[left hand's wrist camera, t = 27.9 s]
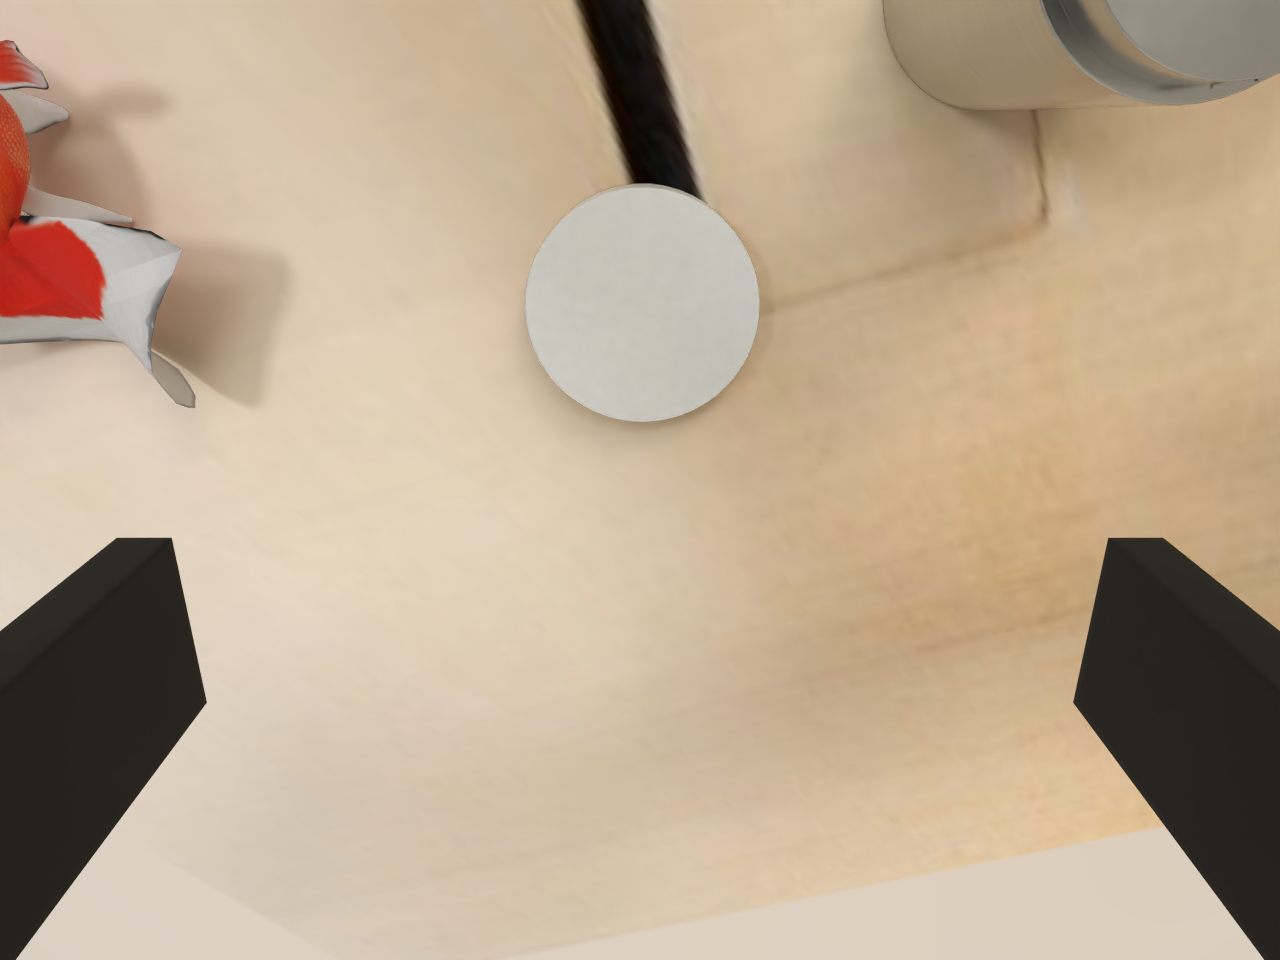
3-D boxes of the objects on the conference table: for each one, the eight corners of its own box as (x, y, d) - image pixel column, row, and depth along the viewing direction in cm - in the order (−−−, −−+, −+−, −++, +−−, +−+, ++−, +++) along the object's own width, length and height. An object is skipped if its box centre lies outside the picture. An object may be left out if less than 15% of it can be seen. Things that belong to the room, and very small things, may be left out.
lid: (486, 269, 36) (477, 278, 34) (674, 135, 35) (676, 135, 33) (614, 445, 39) (612, 463, 37) (794, 329, 37) (803, 341, 35)
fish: (100, -87, 28) (-159, 65, 22) (330, 315, 39) (203, 489, 33) (-135, -42, 31) (-414, 100, 25) (139, 315, 42) (-7, 473, 36)
